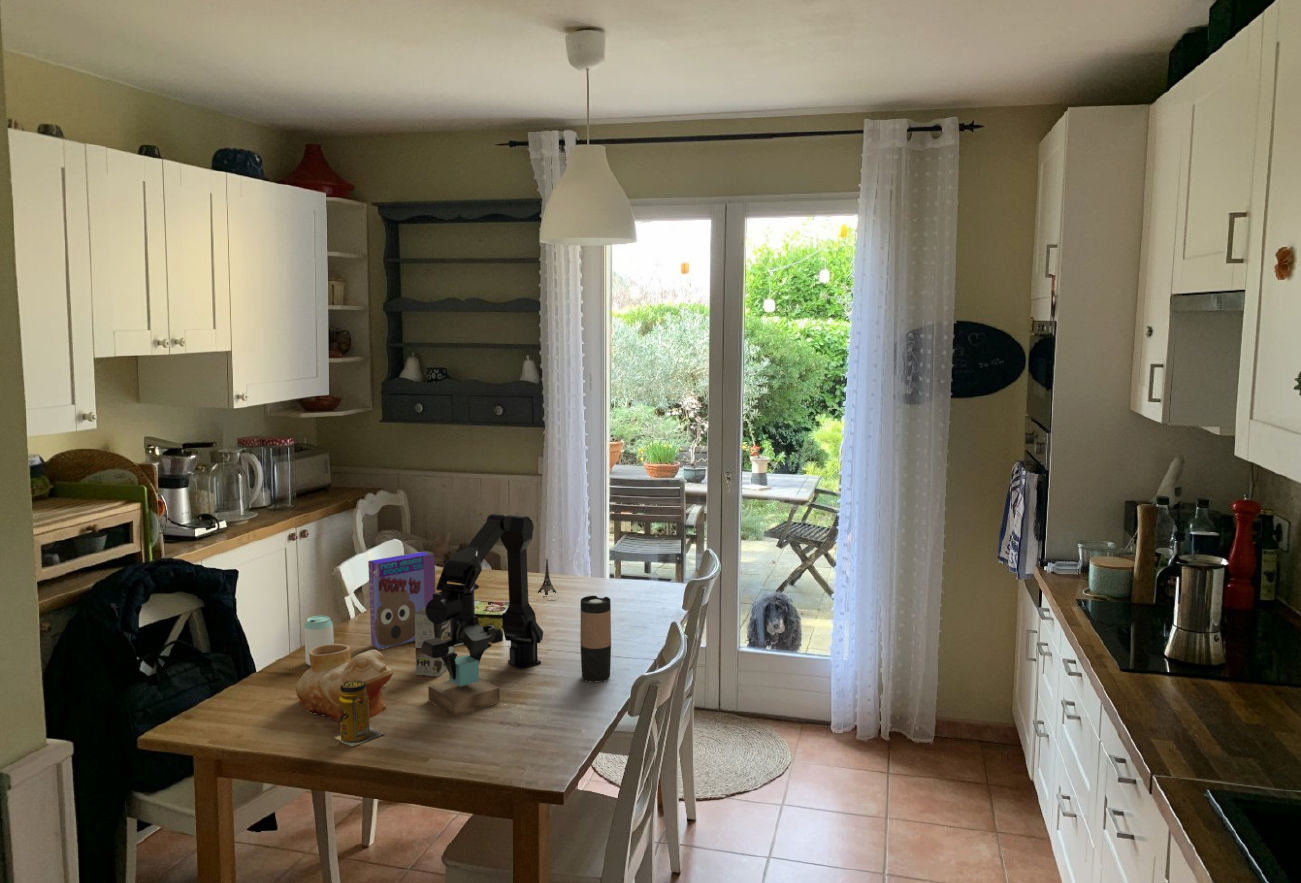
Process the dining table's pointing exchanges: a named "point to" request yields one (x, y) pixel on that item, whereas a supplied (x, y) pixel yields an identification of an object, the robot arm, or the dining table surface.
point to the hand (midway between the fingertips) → (463, 676)
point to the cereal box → (399, 596)
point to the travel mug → (595, 638)
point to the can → (317, 633)
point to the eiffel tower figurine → (547, 582)
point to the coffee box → (426, 632)
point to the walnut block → (463, 696)
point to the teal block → (466, 671)
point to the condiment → (355, 714)
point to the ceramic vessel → (341, 679)
